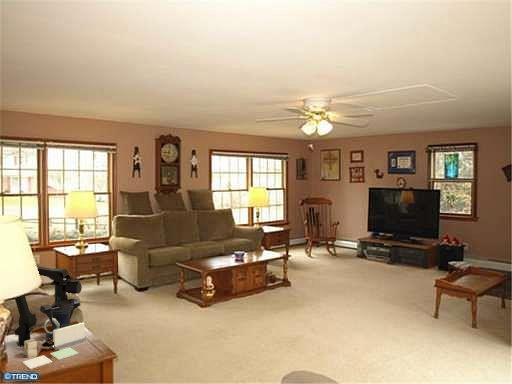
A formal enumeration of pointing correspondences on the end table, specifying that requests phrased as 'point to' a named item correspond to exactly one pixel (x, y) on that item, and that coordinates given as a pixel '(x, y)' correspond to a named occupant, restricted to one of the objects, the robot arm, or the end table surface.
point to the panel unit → (69, 335)
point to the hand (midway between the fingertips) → (60, 321)
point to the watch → (50, 333)
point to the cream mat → (37, 362)
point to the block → (30, 348)
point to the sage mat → (64, 353)
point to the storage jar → (60, 318)
